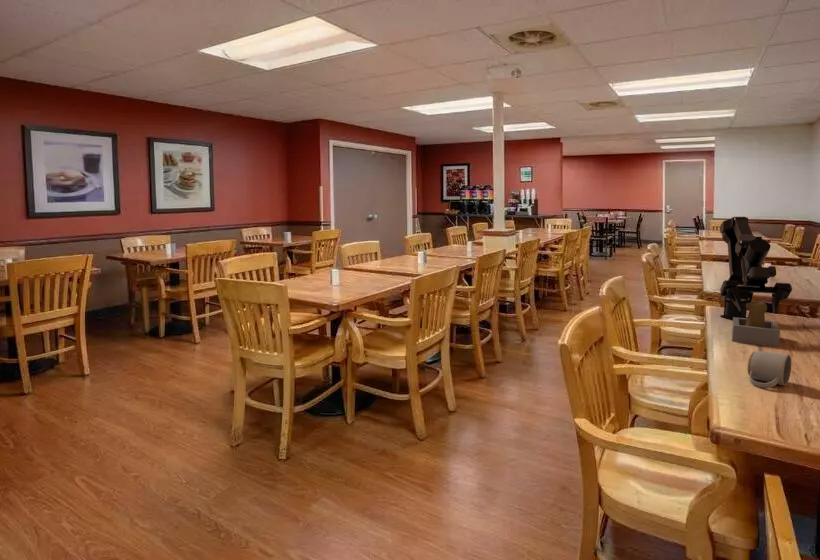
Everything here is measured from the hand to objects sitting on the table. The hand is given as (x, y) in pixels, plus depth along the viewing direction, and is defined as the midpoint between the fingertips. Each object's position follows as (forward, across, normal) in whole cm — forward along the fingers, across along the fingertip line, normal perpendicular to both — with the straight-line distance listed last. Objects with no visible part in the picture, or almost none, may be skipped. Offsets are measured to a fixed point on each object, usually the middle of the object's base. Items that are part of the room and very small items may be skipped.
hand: (758, 312), depth 168 cm
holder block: (+5, 0, +7) cm, 9 cm away
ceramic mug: (+35, -7, -22) cm, 42 cm away
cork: (+5, 0, +7) cm, 8 cm away
